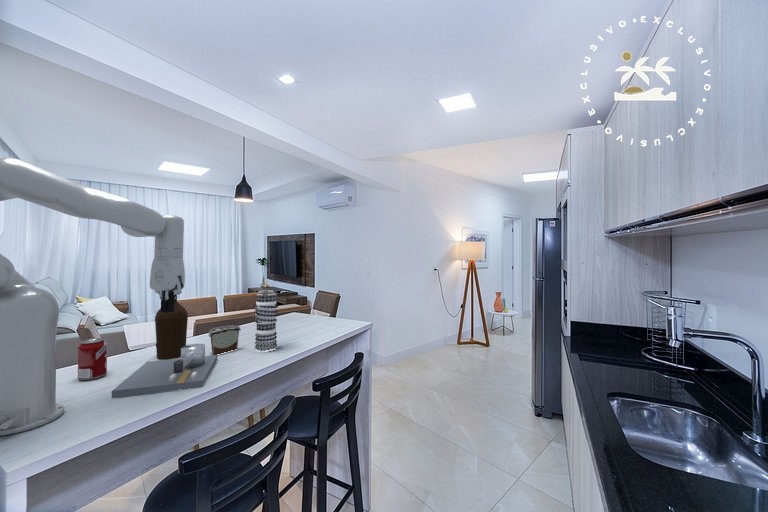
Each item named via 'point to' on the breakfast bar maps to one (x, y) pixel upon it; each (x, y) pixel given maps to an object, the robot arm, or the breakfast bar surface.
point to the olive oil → (171, 332)
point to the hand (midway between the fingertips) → (167, 311)
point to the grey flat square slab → (164, 378)
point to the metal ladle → (190, 357)
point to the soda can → (92, 359)
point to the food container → (224, 339)
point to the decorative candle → (266, 320)
